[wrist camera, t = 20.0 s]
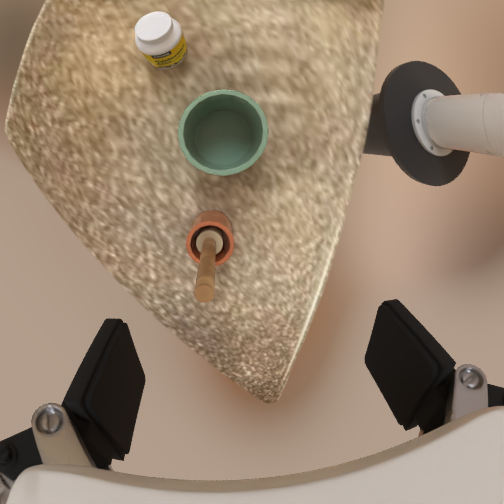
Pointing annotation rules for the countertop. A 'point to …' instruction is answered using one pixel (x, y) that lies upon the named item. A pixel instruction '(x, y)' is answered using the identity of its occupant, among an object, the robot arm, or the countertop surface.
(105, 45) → the countertop surface
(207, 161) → the tumbler
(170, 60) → the supplement bottle
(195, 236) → the holder
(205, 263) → the brush
